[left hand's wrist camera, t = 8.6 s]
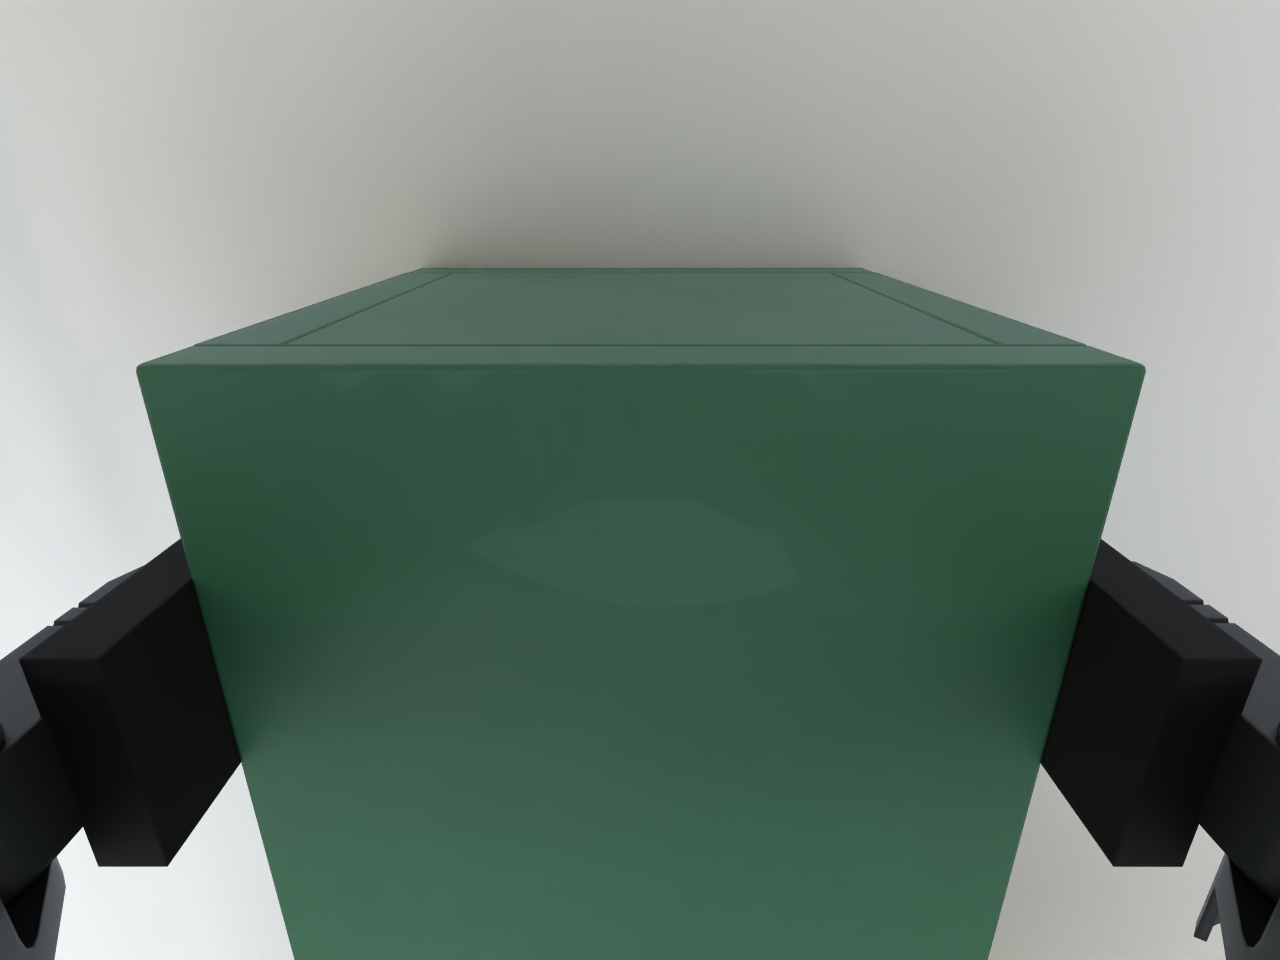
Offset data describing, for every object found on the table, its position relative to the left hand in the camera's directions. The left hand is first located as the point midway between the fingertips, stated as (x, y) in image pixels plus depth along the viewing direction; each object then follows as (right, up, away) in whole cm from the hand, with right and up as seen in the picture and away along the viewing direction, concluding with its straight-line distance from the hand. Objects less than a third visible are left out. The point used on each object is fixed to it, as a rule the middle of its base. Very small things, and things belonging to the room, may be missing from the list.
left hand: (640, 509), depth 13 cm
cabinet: (0, -3, +7) cm, 8 cm away
